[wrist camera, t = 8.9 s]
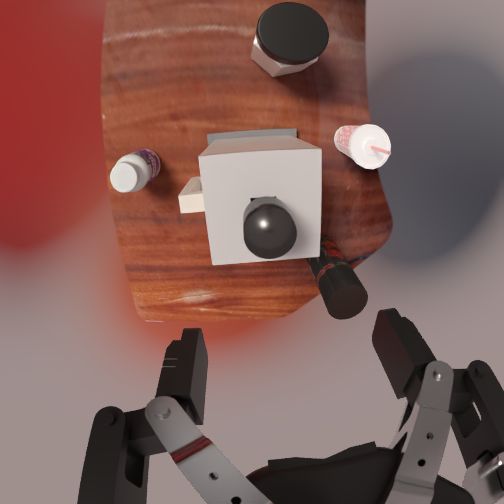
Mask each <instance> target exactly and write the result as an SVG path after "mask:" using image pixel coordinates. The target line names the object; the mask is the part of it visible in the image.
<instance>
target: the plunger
mask: <svg viewBox="0 0 504 504" xmlns="http://www.w3.org/2000/svg"><path fill="white" fill-rule="evenodd" d="M250 200H251V202H250V203H249V204H248V206H247V207H246V209H245V211H244V214H243V235H244V242H245V245H246V247H247V248H248V250H249V251H250V252H251V253H252V254H254V255H255V256H257V257H260V258H264V259H275V258H279V257H281V256H283V255H285V254H286V253H288V252H289V251H290V250H291V249H292V247H293V246H294V244H295V242H296V238H297V229H296V225H295V223H294V221H293V219H292V217H291V215H290V213H289V211H288V209H287V207H286V205H285V204H284V203H283V202H282V201H281V200H279V199H277V198H275V196H274V197H270V196H264V197H259V198H250Z"/></svg>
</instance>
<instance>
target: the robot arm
mask: <svg viewBox="0 0 504 504" xmlns="http://www.w3.org/2000/svg"><path fill="white" fill-rule="evenodd" d="M372 342H373V346H374V348H375V351H376V353H377V354H378V357H379V359H380V361H381V363H382V366H383V368H384V370H385V372H386V374H387V376H388V379H389V381H390V383H391V385H392V387H393V390H394V392H395V394H396V397H397V399H400V398H403V397H406V398H407V400H408V401H407V403H406V405H405V408H404V411H403V414H402V417H401V420H400V423H399V426H398V429H397V431H396V434H395V436H394V438H393V440H392V442H391V444H390V445H389V447H388V448H385V447H376V444H375V442H374V441H373V442H370V443H366V444H363V445H359V446H354V447H350V448H348V449H346V450H344V451H342V452H339V453H337V454H335V455H333V456H330V457H328V458H325V459H312V458H299V457H294V458H285V459H275V460H268V466H266V467H262V468H260V469H258V470H255V471H254V472H252V473H250V474H249V475H247V476H246V477H245V476H243V475H242V473H241V472H240V471H239V470H238V469H237V468H236V467H235V466H234V465H233V464H232V463H231V462H230V461H229V460H228V459H227V458H226V457H225V456H224V455H223V453H222V452H221V451H220V450H219V449H218V448H217V447H216V446H215V445H214V444H213V442H212V441H211V440H210V439H208V438H206V437H205V436H204V435H203V434H202V432H201V431H200V430H199V429H198V428H197V426H196V425H203V418H204V404H205V392H206V380H207V368H208V355H207V350H206V346H205V342H204V338H203V333H202V330H201V328H185V329H183V333H182V337H181V340H173V341H172V342H171V344H170V345H169V346H168V347H167V349H166V353H165V357H164V361H163V368H162V370H161V374H160V378H159V383H158V388H157V392H156V396H155V398H154V399H153V400H151V401H150V402H149V403H148V404H147V406H146V407H145V408H142V409H139V410H135V411H130V412H124V413H123V411H122V410H121V409H119V408H117V407H113V406H109V407H105V408H102V409H101V410H99V411H98V412H97V414H96V415H95V418H94V421H93V425H92V429H91V433H90V438H89V442H88V447H87V451H86V456H85V461H84V466H83V471H82V477H81V482H80V488H79V495H78V502H77V504H146V498H147V482H148V468H149V456H150V455H153V454H158V453H163V452H169V454H170V455H171V457H172V459H173V461H174V462H175V464H176V465H177V466H178V468H179V469H180V470H181V472H182V473H183V474H184V476H185V477H186V478H187V479H188V481H189V482H190V483H191V485H192V486H193V487H194V488H195V489H196V491H197V492H198V493H199V494H200V495H201V497H202V498H203V499H204V500H205V501H206V502H207V504H493V503H495V502H497V501H499V500H501V499H503V498H504V391H503V389H502V387H501V385H500V383H499V382H498V380H497V378H496V376H495V375H494V373H493V372H492V370H491V368H490V367H489V365H488V364H487V363H485V362H483V361H480V360H475V361H472V362H471V363H470V364H469V366H468V368H467V369H452V368H451V367H450V366H449V365H448V364H447V363H445V362H442V361H437V360H436V358H435V356H434V355H433V353H432V351H431V350H430V348H429V347H428V345H427V344H426V342H425V340H424V339H422V336H421V334H420V333H419V332H418V330H417V328H416V327H415V325H414V324H413V323H412V322H411V321H410V320H408V319H407V318H406V317H401V316H400V314H399V313H398V311H397V310H396V309H395V308H391V309H385V310H380V311H379V312H378V315H377V318H376V322H375V326H374V330H373V334H372ZM473 402H475V404H476V406H477V408H478V411H479V412H480V415H481V421H480V419H479V416H478V414H477V412H476V410H475V407H474V406H473ZM450 425H451V427H452V429H453V432H454V434H455V437H456V439H457V442H458V445H459V448H460V450H461V453H462V456H463V459H464V462H465V465H466V468H467V471H466V473H465V476H464V480H463V482H462V485H463V487H464V488H465V489H464V488H462V487H460V486H458V485H456V484H454V483H452V482H450V481H449V480H447V479H445V478H443V477H441V476H439V475H438V471H439V468H440V464H441V461H442V458H443V454H444V450H445V446H446V442H447V438H448V434H449V429H450Z"/></svg>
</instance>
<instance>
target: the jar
mask: <svg viewBox="0 0 504 504" xmlns="http://www.w3.org/2000/svg"><path fill="white" fill-rule="evenodd" d="M328 40H329V31H328V27H327V25H326V23H325V21H324V19H323V18H322V17H321V16H320V15H319V14H318V13H317V12H316V11H315V10H313V9H312V8H310V7H308V6H306V5H303V4H300V3H294V2H284V3H279V4H276V5H273V6H271V7H270V8H268V9H267V10H266V11H264V13H263V14H262V15H261V17H260V18H259V21H258V24H257V29H256V36H255V40H254V43H253V48H252V53H251V59H252V60H254V61H255V62H256V63H257V64H258V65H260V66H261V67H262V68H263V69H264V70H265V71H266V72H268V73H269V74H270V75H271V76H272V77H276V76H280V75H285V74H289V73H294V72H299V71H302V70H304V69H305V68H307V67H308V66H310V65H311V64H313V63H314V62H316V61H317V60H318V56H319V55H320V54H321V53H322V52H323V51H324V50H325V48H326V46H327V44H328Z"/></svg>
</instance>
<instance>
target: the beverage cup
mask: <svg viewBox="0 0 504 504" xmlns="http://www.w3.org/2000/svg"><path fill="white" fill-rule="evenodd" d="M334 142H335V145H336V147H337V148H338V149H339V151H341V152H342V153H344V154H346V155H347V156H349V157H350V158H352V159H353V160H354V161H355V162H356V164H358V165H360V166H362V167H363V168H365V169H375V168H378V167H381V166H382V165H383V164H384V163H385V162H386V161H387V159H388V157H389V155H391V152H390V149H391V144H390V140H389V137H388V135H387V134H386V133H385V131H384V130H383V129H381V128H380V127H378V126H376V125H370V124H365V125H362V126H343V127H340V128H339V129H338V130H337V131H336V133H335V136H334Z"/></svg>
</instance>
